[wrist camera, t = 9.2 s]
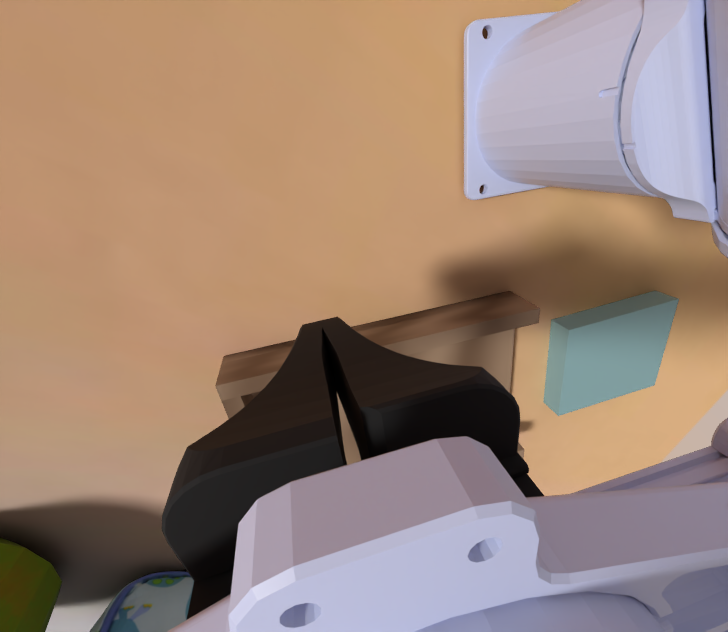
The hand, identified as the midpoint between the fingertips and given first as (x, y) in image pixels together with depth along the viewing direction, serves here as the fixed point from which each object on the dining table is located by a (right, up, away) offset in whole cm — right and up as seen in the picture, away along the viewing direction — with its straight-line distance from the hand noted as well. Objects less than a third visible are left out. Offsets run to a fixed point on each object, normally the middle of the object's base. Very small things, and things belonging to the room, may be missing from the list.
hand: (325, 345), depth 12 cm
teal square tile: (+20, -1, +16) cm, 26 cm away
